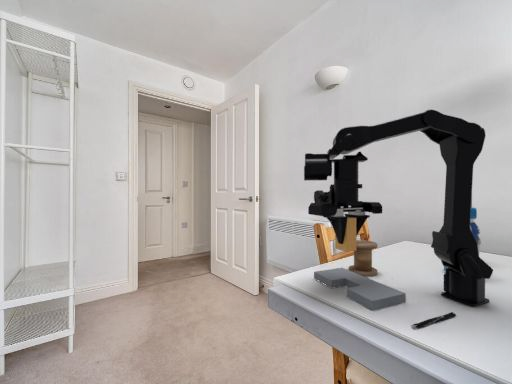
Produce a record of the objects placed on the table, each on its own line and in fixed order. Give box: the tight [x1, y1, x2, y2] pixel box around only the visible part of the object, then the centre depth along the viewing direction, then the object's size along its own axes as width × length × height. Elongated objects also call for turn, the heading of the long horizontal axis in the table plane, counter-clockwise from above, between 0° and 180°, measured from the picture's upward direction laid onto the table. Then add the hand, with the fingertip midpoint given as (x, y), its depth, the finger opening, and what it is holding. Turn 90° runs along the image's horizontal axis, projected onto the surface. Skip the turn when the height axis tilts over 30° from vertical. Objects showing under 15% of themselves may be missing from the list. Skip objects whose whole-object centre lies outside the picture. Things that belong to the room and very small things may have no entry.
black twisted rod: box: [410, 311, 457, 331], centre depth 47 cm, size 12×1×1 cm, turn 113°
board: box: [313, 267, 407, 312], centre depth 62 cm, size 20×10×2 cm, turn 23°
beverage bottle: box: [443, 206, 482, 274], centre depth 73 cm, size 8×8×20 cm
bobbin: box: [348, 239, 378, 278], centre depth 75 cm, size 8×8×9 cm
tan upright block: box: [334, 217, 357, 253], centre depth 61 cm, size 4×3×8 cm
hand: (345, 243), depth 61 cm, fingers closed on tan upright block, 3 cm apart
